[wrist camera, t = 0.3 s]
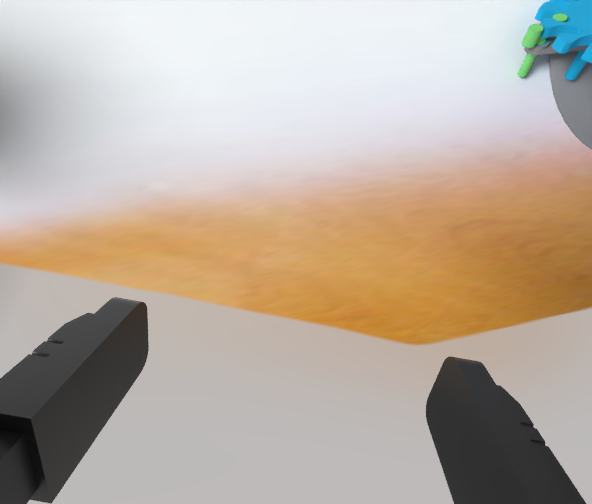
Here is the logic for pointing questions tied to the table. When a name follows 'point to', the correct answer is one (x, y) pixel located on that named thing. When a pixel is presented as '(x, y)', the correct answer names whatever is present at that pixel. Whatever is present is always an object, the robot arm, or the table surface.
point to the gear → (561, 34)
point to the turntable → (573, 95)
